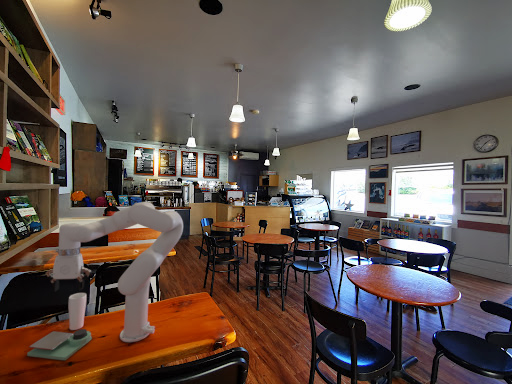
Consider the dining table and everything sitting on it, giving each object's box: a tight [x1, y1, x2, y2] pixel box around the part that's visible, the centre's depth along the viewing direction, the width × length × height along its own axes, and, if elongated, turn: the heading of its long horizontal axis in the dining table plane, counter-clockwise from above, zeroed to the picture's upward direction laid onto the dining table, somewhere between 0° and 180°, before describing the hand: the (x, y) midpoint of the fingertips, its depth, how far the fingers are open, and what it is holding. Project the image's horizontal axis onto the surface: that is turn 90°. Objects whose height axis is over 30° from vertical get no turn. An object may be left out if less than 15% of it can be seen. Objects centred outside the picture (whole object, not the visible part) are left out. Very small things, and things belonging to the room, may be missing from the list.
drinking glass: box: [67, 292, 88, 331], centre depth 110 cm, size 7×7×15 cm
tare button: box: [73, 328, 88, 340], centre depth 100 cm, size 4×4×2 cm
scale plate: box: [28, 330, 74, 350], centre depth 96 cm, size 10×10×1 cm
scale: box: [26, 330, 93, 361], centre depth 97 cm, size 17×14×3 cm
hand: (68, 290), depth 104 cm, fingers open, 9 cm apart
